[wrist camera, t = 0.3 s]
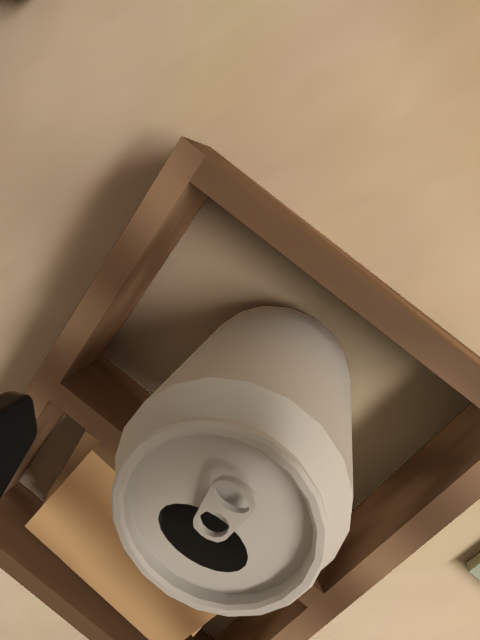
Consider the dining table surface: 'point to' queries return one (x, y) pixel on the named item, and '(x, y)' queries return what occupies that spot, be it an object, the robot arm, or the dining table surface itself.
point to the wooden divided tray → (127, 397)
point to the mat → (474, 566)
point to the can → (241, 466)
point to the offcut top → (108, 551)
